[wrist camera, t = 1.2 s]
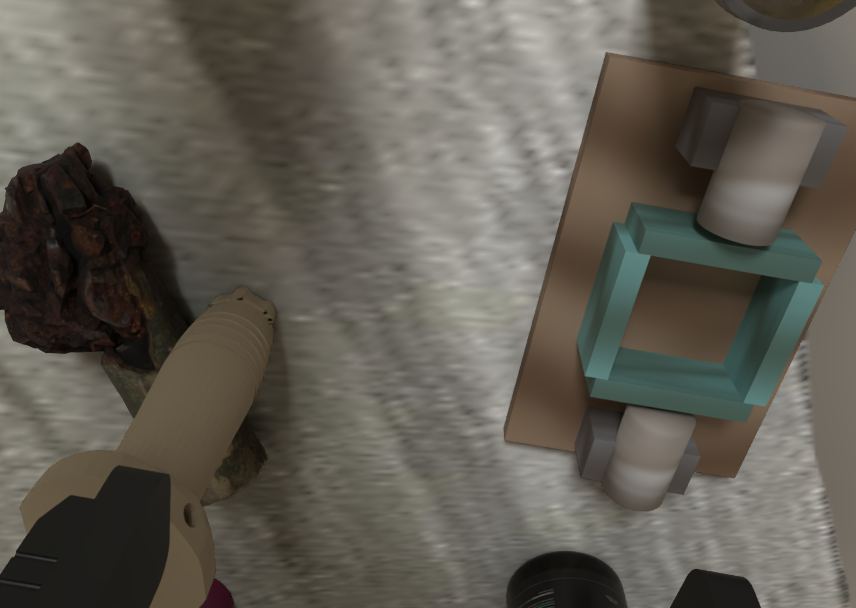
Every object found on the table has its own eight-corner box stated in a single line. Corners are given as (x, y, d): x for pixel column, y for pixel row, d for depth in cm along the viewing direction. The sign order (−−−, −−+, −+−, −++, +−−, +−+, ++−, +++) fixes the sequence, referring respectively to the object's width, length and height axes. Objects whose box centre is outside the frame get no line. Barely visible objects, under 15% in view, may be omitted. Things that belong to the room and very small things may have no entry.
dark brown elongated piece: (277, 437, 40) (249, 515, 35) (167, 460, 41) (124, 538, 36) (118, 126, 32) (51, 170, 27) (-13, 167, 33) (-99, 216, 28)
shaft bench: (606, 52, 29) (629, 79, 25) (900, 105, 30) (974, 142, 25) (503, 427, 38) (507, 496, 34) (728, 464, 39) (761, 537, 34)
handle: (257, 240, 34) (121, 457, 21) (320, 351, 37) (235, 604, 24) (169, 275, 35) (-13, 501, 22) (236, 379, 38) (111, 637, 25)
